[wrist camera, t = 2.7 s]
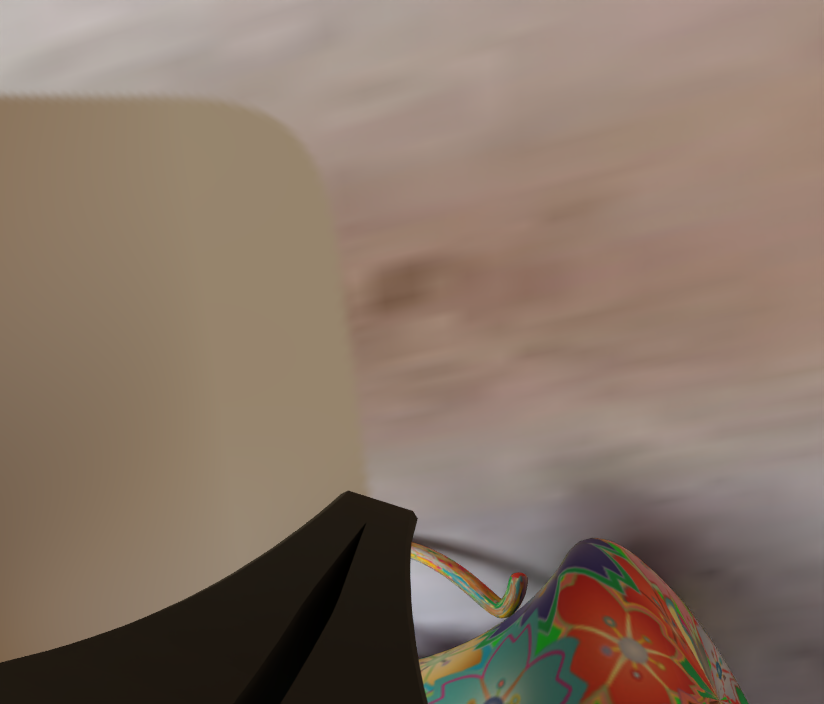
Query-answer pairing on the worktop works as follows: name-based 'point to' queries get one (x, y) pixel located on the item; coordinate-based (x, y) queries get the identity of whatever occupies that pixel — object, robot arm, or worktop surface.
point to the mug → (580, 639)
